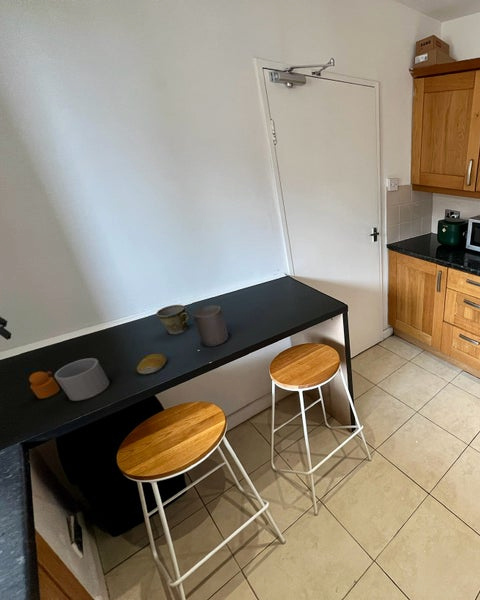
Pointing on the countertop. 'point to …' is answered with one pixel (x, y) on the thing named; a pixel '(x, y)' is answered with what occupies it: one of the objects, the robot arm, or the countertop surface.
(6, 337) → the robot arm
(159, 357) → the bread roll
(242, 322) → the countertop surface
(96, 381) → the pot
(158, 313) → the ceramic cup
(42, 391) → the duck
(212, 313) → the grey canister
